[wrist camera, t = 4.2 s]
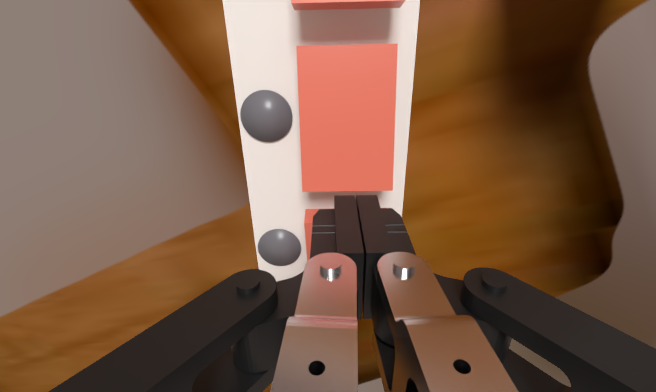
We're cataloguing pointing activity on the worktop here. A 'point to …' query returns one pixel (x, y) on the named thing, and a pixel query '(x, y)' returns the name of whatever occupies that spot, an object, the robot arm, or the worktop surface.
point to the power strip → (283, 111)
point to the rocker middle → (347, 116)
